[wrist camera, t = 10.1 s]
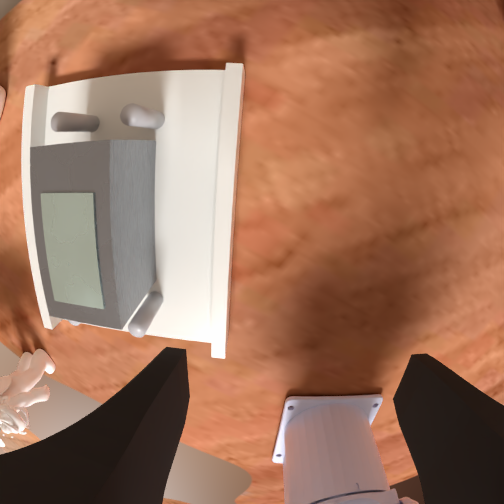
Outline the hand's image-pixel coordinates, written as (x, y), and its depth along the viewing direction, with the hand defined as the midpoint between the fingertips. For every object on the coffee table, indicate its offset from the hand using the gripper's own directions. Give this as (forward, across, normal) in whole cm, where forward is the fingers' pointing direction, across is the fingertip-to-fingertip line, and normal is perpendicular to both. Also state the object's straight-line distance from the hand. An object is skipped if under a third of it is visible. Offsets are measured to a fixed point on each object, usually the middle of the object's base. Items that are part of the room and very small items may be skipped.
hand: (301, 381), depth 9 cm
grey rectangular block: (+9, +9, -3) cm, 13 cm away
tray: (+10, +9, -3) cm, 14 cm away
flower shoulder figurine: (+10, +21, +11) cm, 25 cm away
